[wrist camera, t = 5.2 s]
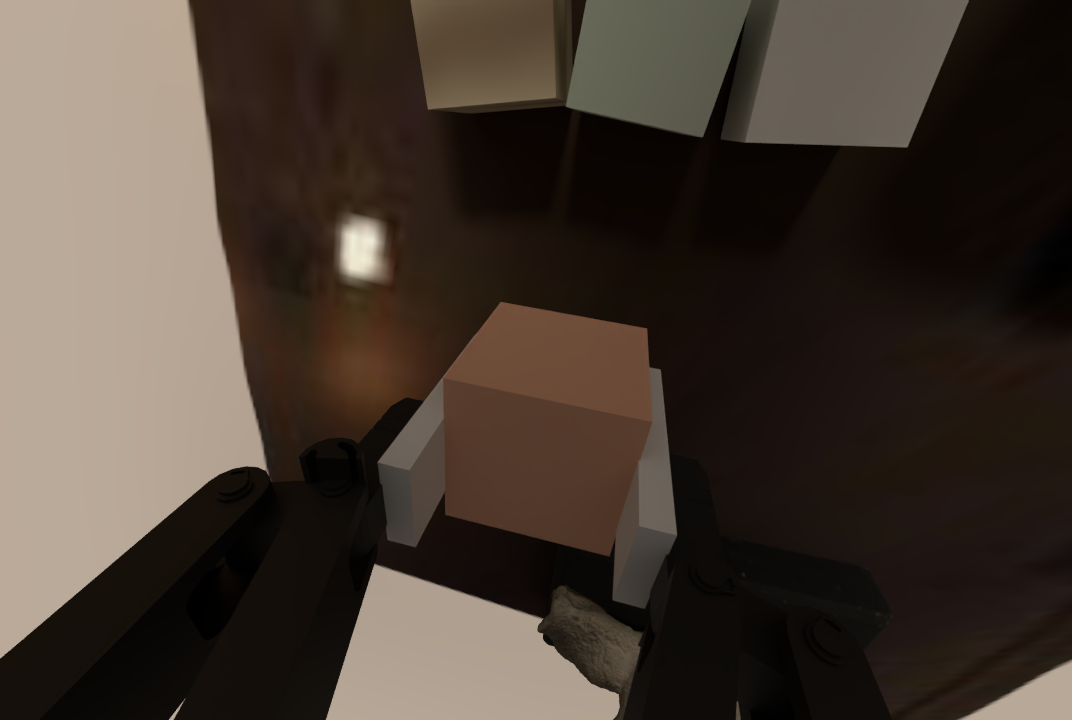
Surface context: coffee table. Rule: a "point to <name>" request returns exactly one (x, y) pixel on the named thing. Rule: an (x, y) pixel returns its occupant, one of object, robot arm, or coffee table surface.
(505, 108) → the maple cube
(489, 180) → the coffee table surface
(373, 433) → the robot arm
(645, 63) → the sage cube
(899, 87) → the offwhite cube
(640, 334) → the terracotta cube
